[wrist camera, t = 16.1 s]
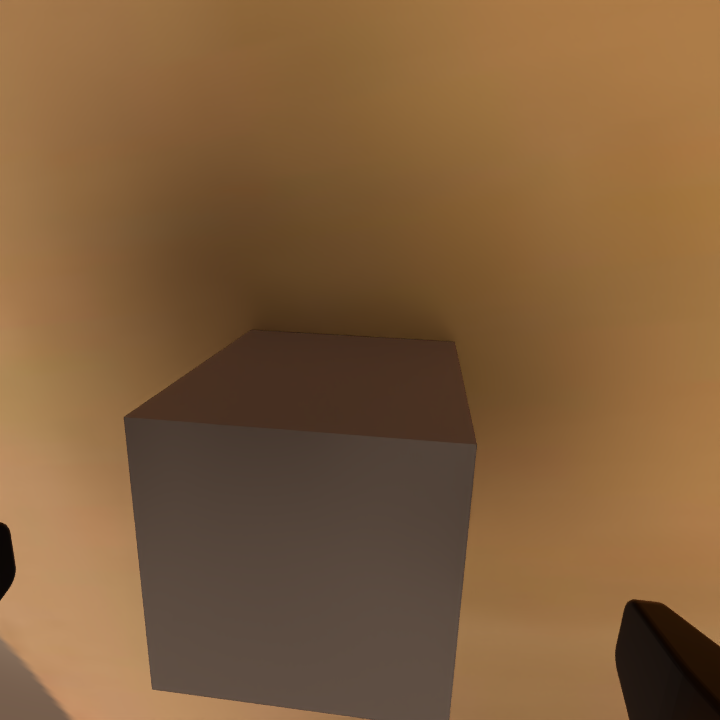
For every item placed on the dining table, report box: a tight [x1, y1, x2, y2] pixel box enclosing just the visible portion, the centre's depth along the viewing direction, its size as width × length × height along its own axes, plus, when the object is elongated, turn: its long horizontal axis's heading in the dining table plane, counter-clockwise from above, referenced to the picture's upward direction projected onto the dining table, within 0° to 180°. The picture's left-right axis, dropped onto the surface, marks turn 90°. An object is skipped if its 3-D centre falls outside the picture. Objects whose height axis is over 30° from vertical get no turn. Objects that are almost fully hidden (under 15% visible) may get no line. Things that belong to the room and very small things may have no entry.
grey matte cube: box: [124, 330, 477, 720], centre depth 16 cm, size 8×8×9 cm
